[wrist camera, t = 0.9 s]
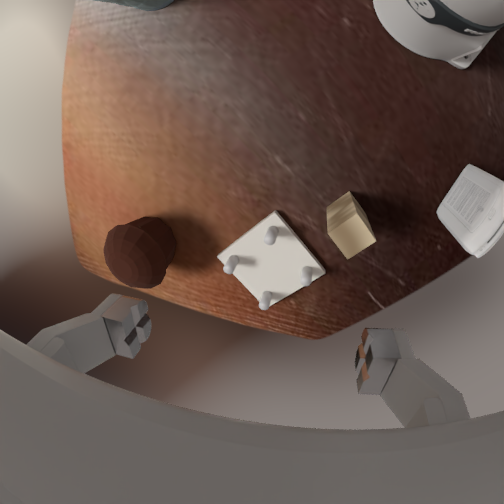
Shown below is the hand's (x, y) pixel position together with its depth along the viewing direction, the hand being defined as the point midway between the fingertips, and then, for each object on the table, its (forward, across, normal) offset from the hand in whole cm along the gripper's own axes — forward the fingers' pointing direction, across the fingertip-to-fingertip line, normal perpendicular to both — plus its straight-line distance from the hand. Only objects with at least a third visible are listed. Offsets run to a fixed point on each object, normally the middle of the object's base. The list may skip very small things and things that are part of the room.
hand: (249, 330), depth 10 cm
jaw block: (+31, -8, +4) cm, 32 cm away
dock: (+32, +3, +13) cm, 35 cm away
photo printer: (+30, -25, -1) cm, 39 cm away
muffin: (+33, +23, +11) cm, 42 cm away
